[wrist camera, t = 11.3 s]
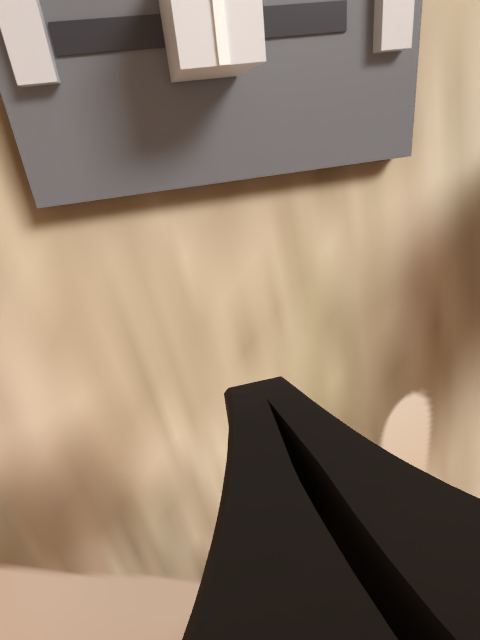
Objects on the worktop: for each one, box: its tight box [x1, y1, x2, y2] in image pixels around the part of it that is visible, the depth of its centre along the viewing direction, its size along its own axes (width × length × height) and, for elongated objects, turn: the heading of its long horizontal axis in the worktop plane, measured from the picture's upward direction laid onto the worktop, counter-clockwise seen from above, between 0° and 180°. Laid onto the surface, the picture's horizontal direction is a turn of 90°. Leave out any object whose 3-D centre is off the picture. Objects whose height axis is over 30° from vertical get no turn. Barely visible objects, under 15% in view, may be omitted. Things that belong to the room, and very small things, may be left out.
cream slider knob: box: [158, 0, 266, 83], centre depth 12 cm, size 2×3×4 cm
